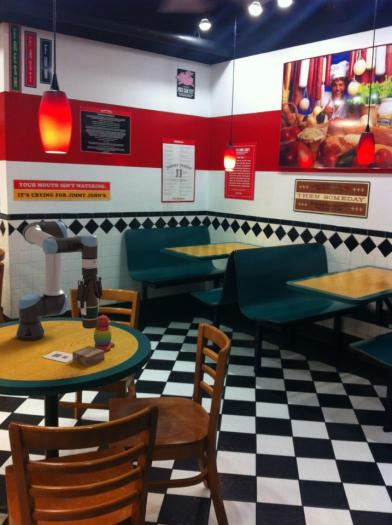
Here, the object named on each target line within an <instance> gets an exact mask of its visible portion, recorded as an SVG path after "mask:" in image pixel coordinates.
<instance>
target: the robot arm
mask: <svg viewBox="0 0 392 525" xmlns="http://www.w3.org/2000/svg"><path fill="white" fill-rule="evenodd" d="M22 237H23V239H24V240H25V241H26V242H27V243H28V244H30V245H36V246H38V247H39V248H42V250H43V252H44V258H45V259H44V261H45V262H44V264H45V268H44V270H45V272H44V274H45V279H44V280H45V290H44V291H42V296H41V295H40V294H38V293H34V294H33V293H31V294H26V295H24V296H22V297H20V298H19V299H18V303H17V304H18V306H17V307H18V327H17V331H16V333H15V337H16V339H17V340H19V341H23V342H25V341H27V342H29V341H37V340H40V339H43V338H44V337H45V329H44V328H43V324H42V320H41V319H42V318H46V317H52V316H59V315H63V314H65V313H66V312H67V309H68V305H69V300H68V296H67V294H66V293H65V291H64V290H63V289H62V254H72V253H81V275H82V279H81V280H77V285H78V286H77V290H76V291H77V293H76V301H77V302H79V306H80V307H79V308H80V314H81V315H82V314H83V315H86V302H85V298H86V295H87V291H88V289H89V287H90V284H91V282H92V279H93V287H94V295H95V297H96V298H97V301H98V312H99V311H100V299H101V298H102V297H103V296H104V295H103V287H102V285H103V284H102V277H101V276H98V272H99V271H98V251H99V250H98V245H99V244H98V243H99V242H98V236H97V235H96V234H82V235H73V236H70V237H69V235H68V230H67V226H66V224H64V222H62V221H61V220H49V221H35V222H34V221H33V222H30V223H29V224H27V225H26V226H25V227H24V228H23V230H22Z"/></svg>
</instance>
